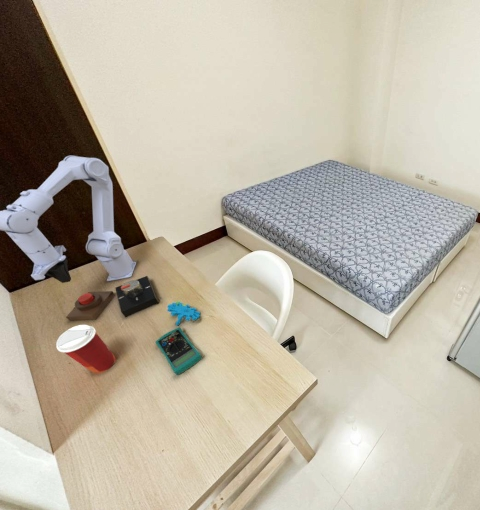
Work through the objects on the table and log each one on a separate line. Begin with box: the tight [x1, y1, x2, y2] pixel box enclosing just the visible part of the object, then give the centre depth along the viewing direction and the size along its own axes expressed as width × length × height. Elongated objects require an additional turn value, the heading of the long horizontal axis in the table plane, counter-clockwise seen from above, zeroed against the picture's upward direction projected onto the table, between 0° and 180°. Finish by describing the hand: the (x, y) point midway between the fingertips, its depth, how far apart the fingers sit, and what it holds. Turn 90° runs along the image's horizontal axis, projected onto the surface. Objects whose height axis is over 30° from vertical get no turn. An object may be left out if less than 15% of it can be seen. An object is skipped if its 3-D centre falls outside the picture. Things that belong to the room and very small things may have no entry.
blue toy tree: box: [166, 300, 201, 326], centre depth 85 cm, size 11×6×10 cm
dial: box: [121, 279, 143, 298], centre depth 91 cm, size 5×5×4 cm
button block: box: [65, 290, 116, 322], centre depth 89 cm, size 11×8×4 cm
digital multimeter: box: [154, 327, 203, 376], centre depth 77 cm, size 7×15×3 cm, turn 48°
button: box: [77, 292, 94, 305], centre depth 87 cm, size 4×4×2 cm
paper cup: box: [55, 324, 116, 374], centre depth 70 cm, size 8×8×14 cm
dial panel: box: [115, 275, 160, 318], centre depth 93 cm, size 14×10×3 cm
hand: (66, 280), depth 85 cm, fingers closed
